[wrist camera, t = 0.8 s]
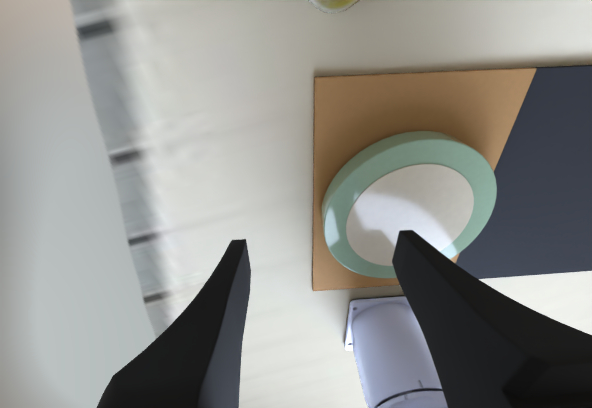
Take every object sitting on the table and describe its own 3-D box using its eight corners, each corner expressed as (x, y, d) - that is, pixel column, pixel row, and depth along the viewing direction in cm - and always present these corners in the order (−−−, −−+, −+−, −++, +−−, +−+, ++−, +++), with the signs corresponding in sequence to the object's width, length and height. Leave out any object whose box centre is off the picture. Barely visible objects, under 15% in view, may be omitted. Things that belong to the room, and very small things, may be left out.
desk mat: (611, 267, 30) (614, 269, 29) (312, 289, 28) (312, 291, 28) (795, 55, 18) (803, 56, 18) (314, 76, 17) (315, 77, 17)
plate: (453, 257, 27) (465, 273, 25) (318, 266, 26) (321, 284, 25) (507, 123, 19) (529, 134, 18) (321, 133, 19) (326, 144, 17)
